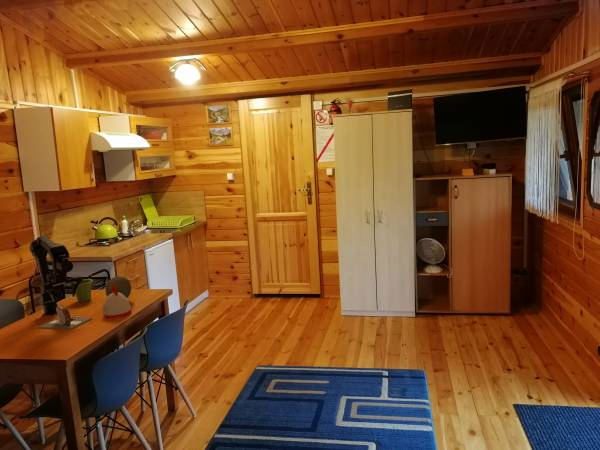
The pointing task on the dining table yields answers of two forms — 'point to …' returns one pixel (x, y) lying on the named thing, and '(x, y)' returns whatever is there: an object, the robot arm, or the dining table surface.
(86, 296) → the plant pot
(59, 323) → the mat
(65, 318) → the tin
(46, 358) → the dining table surface
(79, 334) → the dining table surface
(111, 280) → the cantaloupe
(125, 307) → the kitchen timer
